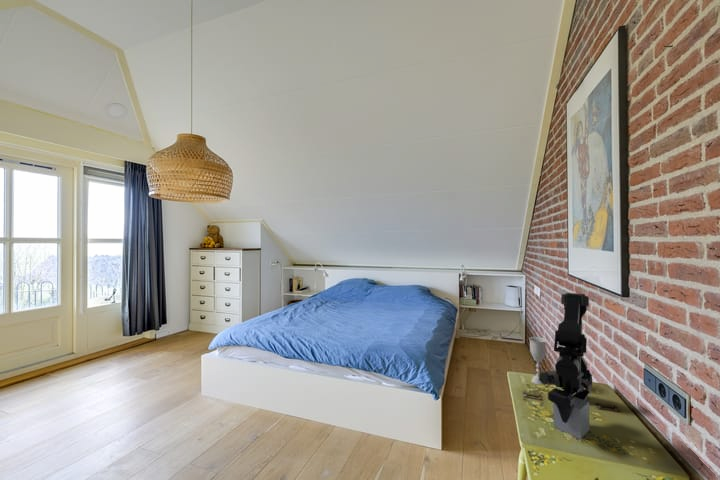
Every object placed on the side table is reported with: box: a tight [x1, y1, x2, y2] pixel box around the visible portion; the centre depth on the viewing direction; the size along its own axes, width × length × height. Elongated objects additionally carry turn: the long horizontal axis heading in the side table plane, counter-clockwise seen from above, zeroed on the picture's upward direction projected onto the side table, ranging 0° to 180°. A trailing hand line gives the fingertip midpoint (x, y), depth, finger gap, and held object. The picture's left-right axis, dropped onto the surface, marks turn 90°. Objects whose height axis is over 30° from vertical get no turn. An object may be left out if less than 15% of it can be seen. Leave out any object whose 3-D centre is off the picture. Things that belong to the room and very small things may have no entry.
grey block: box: [553, 397, 591, 440], centre depth 99 cm, size 7×7×9 cm
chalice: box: [528, 336, 548, 386], centre depth 132 cm, size 7×7×18 cm
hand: (570, 417), depth 99 cm, fingers open, 9 cm apart
